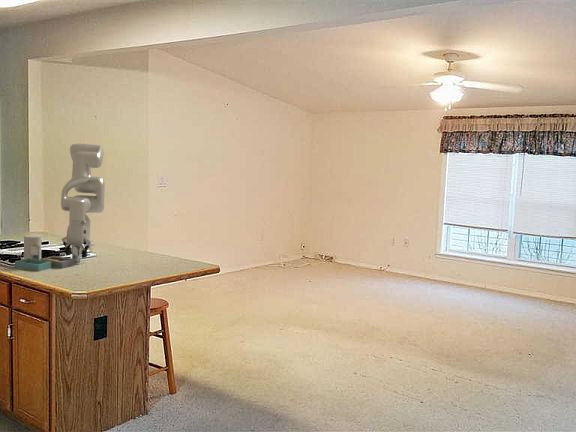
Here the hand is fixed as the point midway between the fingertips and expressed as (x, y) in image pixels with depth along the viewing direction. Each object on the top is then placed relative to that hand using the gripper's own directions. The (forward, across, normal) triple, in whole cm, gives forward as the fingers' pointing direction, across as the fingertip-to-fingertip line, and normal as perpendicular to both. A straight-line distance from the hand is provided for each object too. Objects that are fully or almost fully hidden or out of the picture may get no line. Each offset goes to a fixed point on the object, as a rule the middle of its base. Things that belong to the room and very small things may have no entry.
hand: (76, 256), depth 283 cm
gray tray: (+3, +3, +10) cm, 11 cm away
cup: (+3, +22, +6) cm, 23 cm away
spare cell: (+3, +15, +12) cm, 19 cm away
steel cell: (+3, 0, 0) cm, 3 cm away
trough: (+3, +8, +21) cm, 23 cm away
